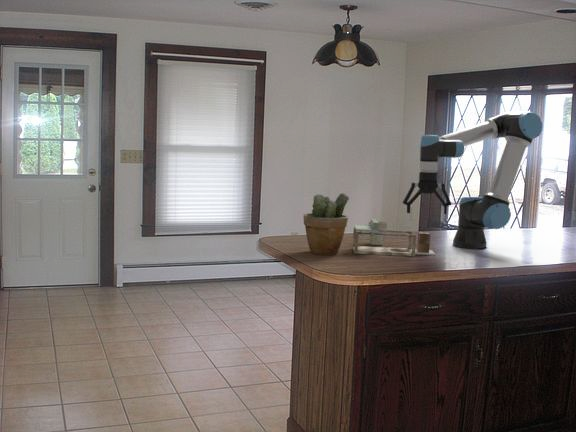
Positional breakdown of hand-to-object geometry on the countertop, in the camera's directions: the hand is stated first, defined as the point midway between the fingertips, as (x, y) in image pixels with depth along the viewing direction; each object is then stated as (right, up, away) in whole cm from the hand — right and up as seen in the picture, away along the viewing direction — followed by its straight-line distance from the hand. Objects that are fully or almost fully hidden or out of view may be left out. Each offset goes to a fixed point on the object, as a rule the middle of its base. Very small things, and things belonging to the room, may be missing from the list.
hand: (426, 221), depth 295 cm
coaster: (-1, -14, +1) cm, 14 cm away
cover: (-26, -4, -3) cm, 27 cm away
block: (-1, -13, +1) cm, 13 cm away
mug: (-21, -11, +20) cm, 31 cm away
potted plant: (-44, -13, -10) cm, 47 cm away
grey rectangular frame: (-19, -13, -2) cm, 23 cm away
